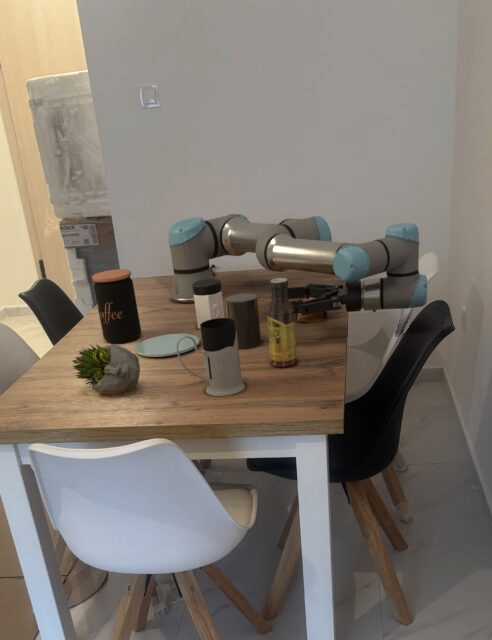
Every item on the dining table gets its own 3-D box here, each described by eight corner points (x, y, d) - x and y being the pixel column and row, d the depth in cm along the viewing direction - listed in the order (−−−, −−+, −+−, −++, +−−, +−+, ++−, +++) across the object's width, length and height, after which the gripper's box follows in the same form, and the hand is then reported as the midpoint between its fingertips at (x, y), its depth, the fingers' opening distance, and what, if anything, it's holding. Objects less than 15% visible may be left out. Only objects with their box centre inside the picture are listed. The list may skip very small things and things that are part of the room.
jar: (205, 331, 213) (200, 288, 207) (190, 326, 219) (185, 284, 214) (232, 323, 217) (227, 280, 211) (217, 318, 223) (212, 277, 217)
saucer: (146, 340, 213) (145, 335, 212) (205, 336, 209) (205, 331, 209) (128, 360, 199) (127, 355, 198) (192, 357, 195) (191, 352, 194)
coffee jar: (96, 341, 217) (83, 277, 208) (125, 331, 223) (113, 267, 214) (121, 346, 210) (108, 280, 201) (149, 335, 216) (139, 270, 208)
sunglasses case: (292, 304, 225) (302, 283, 222) (313, 314, 227) (324, 293, 224) (297, 322, 209) (308, 299, 206) (319, 332, 211) (331, 310, 208)
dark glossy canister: (233, 340, 204) (228, 294, 198) (263, 338, 202) (259, 292, 196) (228, 349, 197) (222, 303, 191) (259, 348, 195) (254, 300, 189)
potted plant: (140, 385, 171) (71, 379, 167) (133, 406, 183) (69, 400, 180) (141, 335, 174) (74, 328, 170) (134, 359, 186) (71, 352, 182)
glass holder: (250, 389, 170) (243, 323, 163) (190, 404, 167) (180, 337, 159) (236, 378, 177) (229, 314, 170) (178, 392, 174) (168, 327, 167)
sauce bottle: (266, 363, 184) (258, 279, 175) (289, 357, 186) (283, 274, 176) (278, 370, 179) (271, 284, 169) (302, 364, 181) (296, 279, 171)
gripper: (360, 325, 179) (271, 330, 184) (363, 297, 201) (283, 302, 205) (360, 293, 176) (268, 299, 180) (363, 267, 197) (281, 274, 202)
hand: (276, 301), depth 193 cm, fingers open, 13 cm apart
